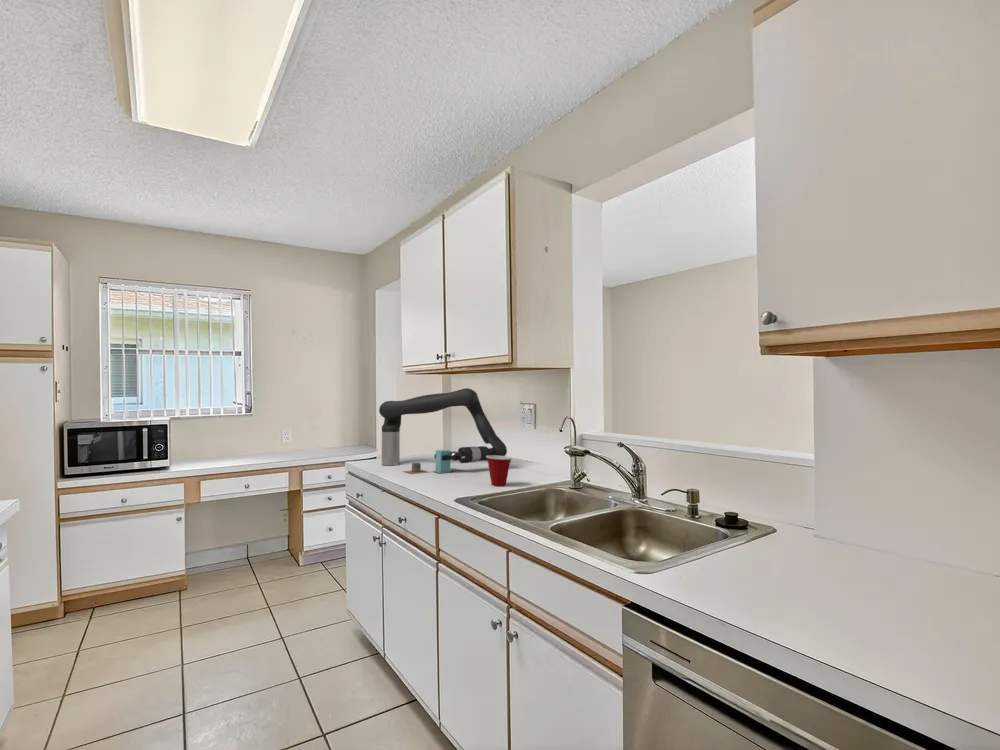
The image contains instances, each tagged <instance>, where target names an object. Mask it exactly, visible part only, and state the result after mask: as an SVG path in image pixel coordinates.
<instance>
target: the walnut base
mask: <svg viewBox="0 0 1000 750" xmlns="http://www.w3.org/2000/svg"><path fill="white" fill-rule="evenodd" d="M421 464H422V463H421V462H411V470H402V473H406V474H408V475H417V474H418V475H419V474H428V473H431V472H430V471H427V470H424V469H422V468H421V467H422V466H421Z"/></svg>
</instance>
